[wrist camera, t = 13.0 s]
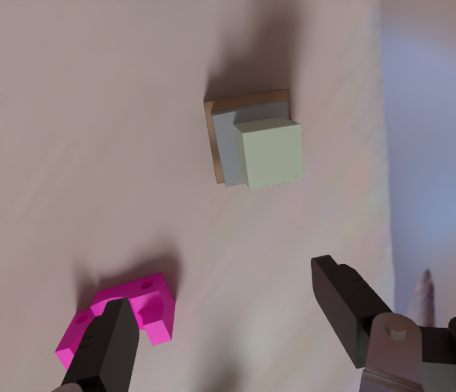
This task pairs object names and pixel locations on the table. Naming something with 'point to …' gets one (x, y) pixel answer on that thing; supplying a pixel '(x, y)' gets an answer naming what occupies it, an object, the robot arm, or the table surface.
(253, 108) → the block
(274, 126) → the sage block
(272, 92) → the block
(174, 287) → the table surface
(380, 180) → the table surface
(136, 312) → the toy block
